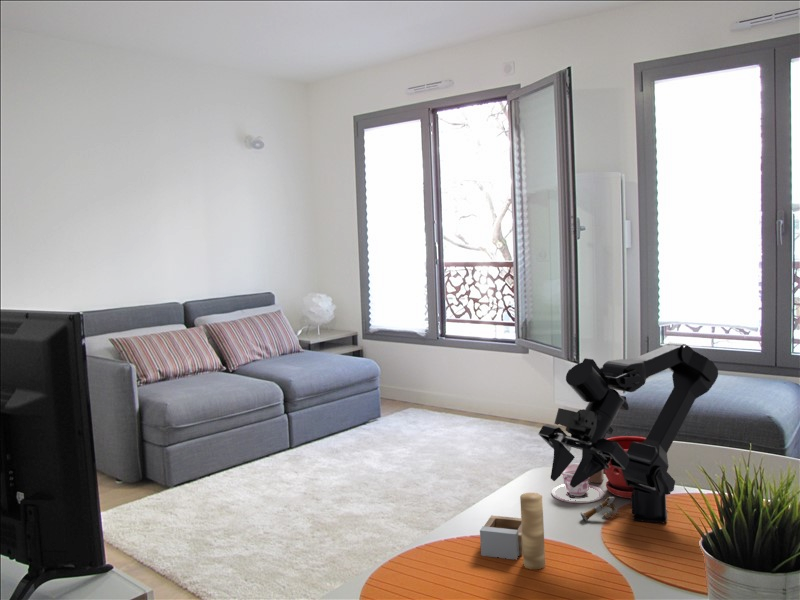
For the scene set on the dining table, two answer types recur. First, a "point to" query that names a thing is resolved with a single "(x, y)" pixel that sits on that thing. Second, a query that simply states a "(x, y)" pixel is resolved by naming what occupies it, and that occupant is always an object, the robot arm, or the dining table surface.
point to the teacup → (577, 490)
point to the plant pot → (615, 474)
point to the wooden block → (597, 477)
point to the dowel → (532, 530)
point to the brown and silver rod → (600, 507)
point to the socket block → (507, 526)
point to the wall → (499, 542)
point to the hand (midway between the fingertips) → (561, 483)
